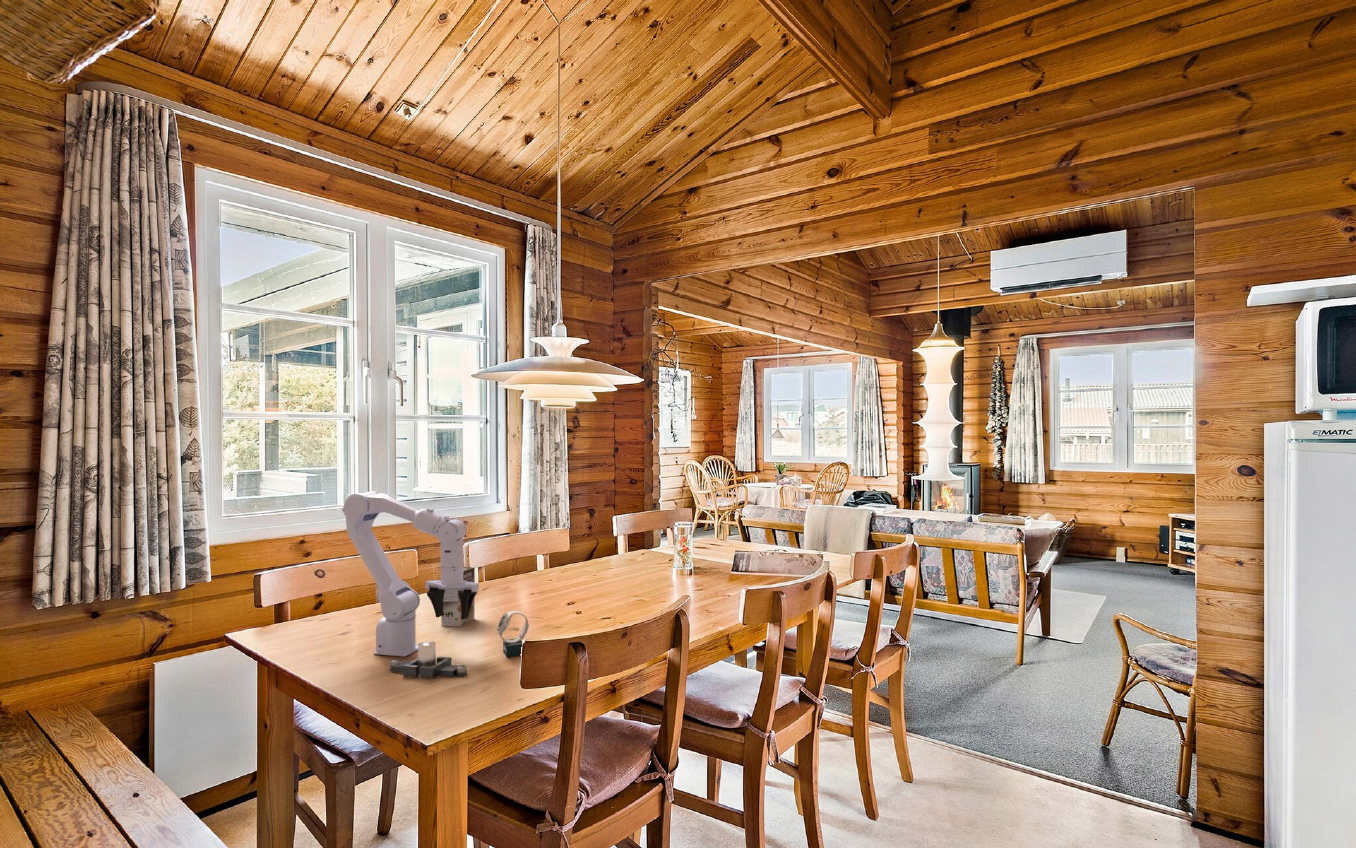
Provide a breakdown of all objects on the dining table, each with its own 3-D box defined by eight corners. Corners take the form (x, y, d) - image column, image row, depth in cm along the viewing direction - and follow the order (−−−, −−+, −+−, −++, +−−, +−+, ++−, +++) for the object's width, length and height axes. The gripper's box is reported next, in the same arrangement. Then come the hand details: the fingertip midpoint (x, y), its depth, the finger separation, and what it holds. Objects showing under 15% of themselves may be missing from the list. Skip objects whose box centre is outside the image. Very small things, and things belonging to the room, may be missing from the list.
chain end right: (419, 678, 164) (419, 667, 164) (439, 666, 172) (439, 656, 172) (457, 681, 162) (457, 670, 162) (474, 669, 170) (474, 659, 170)
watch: (495, 652, 182) (495, 611, 182) (526, 648, 186) (526, 607, 186) (499, 659, 177) (499, 616, 177) (530, 655, 181) (530, 612, 181)
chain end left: (380, 674, 167) (379, 663, 167) (400, 663, 175) (400, 653, 175) (416, 677, 165) (416, 667, 165) (435, 666, 172) (435, 656, 172)
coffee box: (460, 627, 206) (460, 573, 206) (440, 626, 207) (440, 572, 207) (475, 618, 215) (475, 567, 215) (456, 617, 216) (456, 566, 216)
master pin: (414, 674, 167) (414, 645, 167) (425, 668, 171) (425, 640, 171) (428, 676, 165) (427, 647, 165) (439, 670, 169) (439, 642, 169)
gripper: (418, 567, 180) (418, 619, 180) (468, 570, 177) (468, 623, 177) (434, 562, 187) (434, 612, 187) (482, 564, 184) (482, 615, 184)
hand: (452, 617), depth 182 cm, fingers open, 7 cm apart
